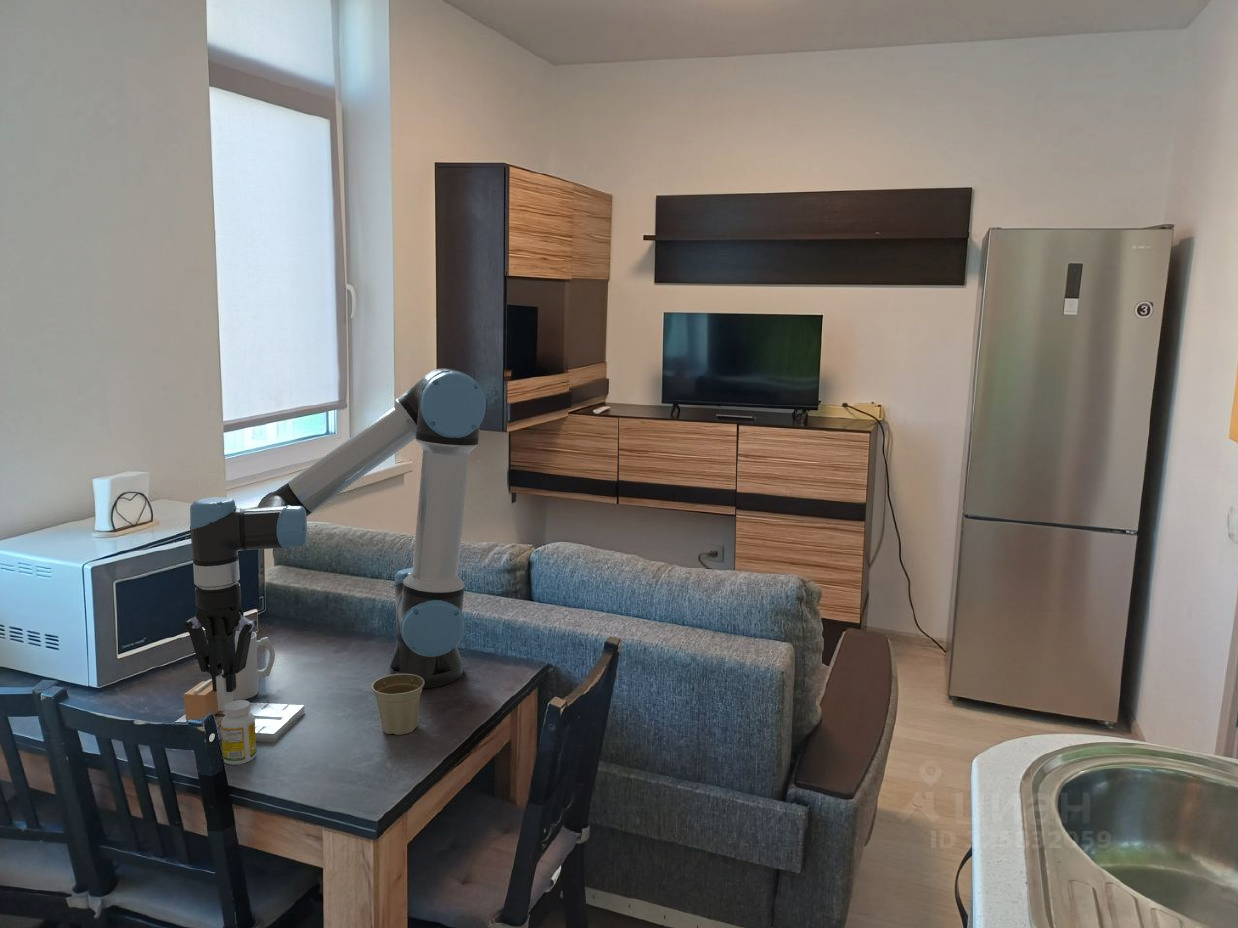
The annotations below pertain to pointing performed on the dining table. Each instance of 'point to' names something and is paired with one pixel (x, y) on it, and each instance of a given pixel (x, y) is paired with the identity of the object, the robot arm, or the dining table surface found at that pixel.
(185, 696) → the cardboard box
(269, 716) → the console
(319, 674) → the dining table surface
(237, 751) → the supplement bottle
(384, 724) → the flower pot
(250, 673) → the mug
